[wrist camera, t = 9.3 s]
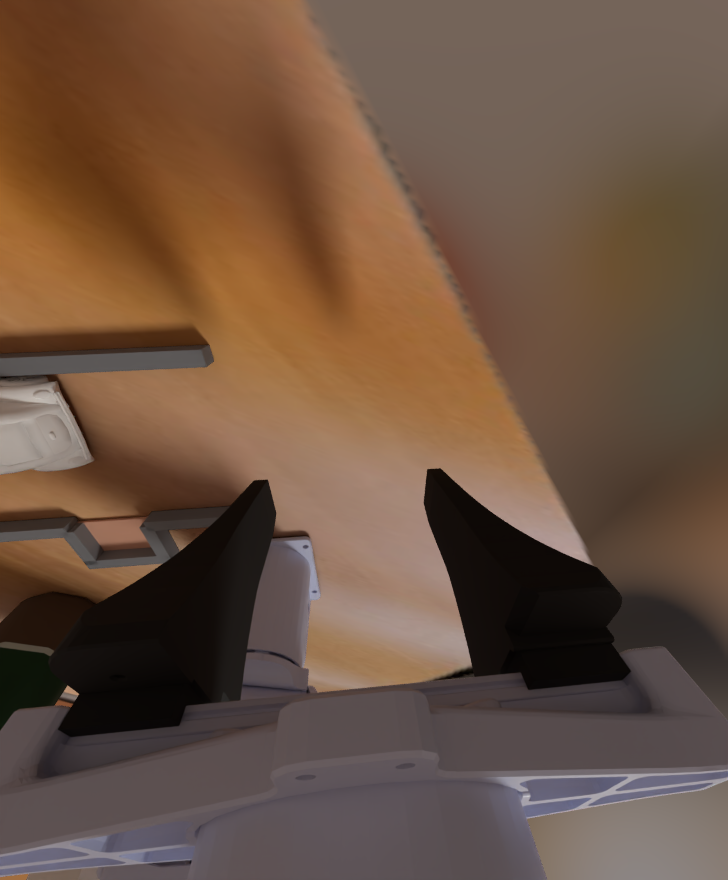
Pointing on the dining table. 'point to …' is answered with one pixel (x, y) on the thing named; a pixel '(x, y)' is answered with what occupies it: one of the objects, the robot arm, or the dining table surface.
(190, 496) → the dining table surface
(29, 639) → the beer bottle
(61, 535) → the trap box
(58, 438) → the car
